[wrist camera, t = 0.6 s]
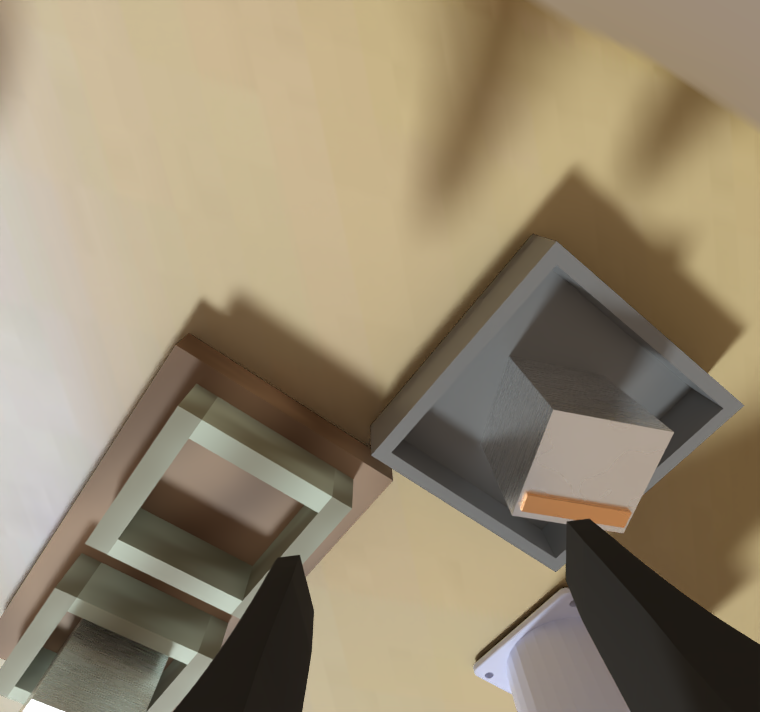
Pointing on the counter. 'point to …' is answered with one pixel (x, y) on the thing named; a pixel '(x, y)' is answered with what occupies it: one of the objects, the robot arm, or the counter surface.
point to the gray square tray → (546, 345)
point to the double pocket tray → (189, 521)
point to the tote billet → (570, 445)
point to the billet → (98, 674)
